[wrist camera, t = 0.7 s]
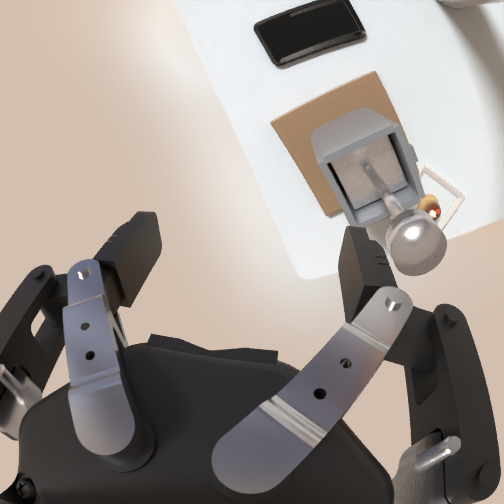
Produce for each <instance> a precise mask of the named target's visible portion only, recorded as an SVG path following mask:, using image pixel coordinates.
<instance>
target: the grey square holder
mask: <svg viewBox="0 0 504 504" xmlns="http://www.w3.org/2000/svg"><path fill="white" fill-rule="evenodd" d="M270 123H271V125H272V126H273V128H274V129H275V131H276V133H277V134H278V136H279V137H280V139H281V140H282V142H283V144H284V145H285V147H286V148H287V150H288V152H289V153H290V155H291V156H292V158H293V160H294V161H295V163H296V165H297V166H298V168H299V170H300V171H301V173H302V175H303V176H304V178H305V180H306V181H307V183H308V185H309V186H310V188H311V190H312V192H313V193H314V195H315V197H316V199H317V200H318V202H319V204H320V206H321V208H322V209H323V211H324V213H325V215H326V216H327V215H329V214H331V213H333V212H336V211H338V210H340V209H342V210H343V212H344V214H345V216H346V218H347V220H348V222H349V224H350V226H355V227H364V228H365V227H367V226H370V225H372V224H374V223H376V222H378V221H381V220H383V219H385V218H387V217H389V216H391V213H390V211H389V210H388V208H387V206H386V205H385V203H384V201H383V200H382V198H380V199H378V200H375V201H373V202H371V203H369V204H367V205H365V206H362V207H360V208H358V209H356V210H354V207H353V205H352V203H351V201H350V199H349V197H348V195H347V193H346V191H345V189H344V187H343V185H342V183H341V181H340V179H339V177H338V175H337V173H336V172H335V170H334V168H333V166H332V164H331V161H333V160H335V159H337V158H340V157H342V156H344V155H346V154H348V153H350V152H352V151H354V150H356V149H358V148H360V147H363V146H365V145H367V144H369V143H371V142H373V141H375V140H378V139H380V138H382V137H384V136H386V135H388V137H389V140H390V142H391V144H392V147H393V149H394V152H395V154H396V157H397V159H398V162H399V164H400V167H401V169H402V172H403V175H404V178H405V180H406V183H407V186H406V187H403V188H401V189H399V190H397V191H395V192H393V193H392V194H393V195H394V196H395V198H396V199H397V201H398V202H399V204H400V205H401V207H402V208H403V210H404V209H407V208H409V207H411V206H413V205H415V204H417V203H420V199H421V198H423V197H425V194H424V191H423V187H422V184H421V181H420V178H419V175H418V173H419V171H418V168H417V165H416V162H417V161H418V159H417V156H416V153H415V151H414V148H413V146H412V145H411V144H409V143H408V140H407V138H406V135H405V133H404V130H403V128H402V126H401V123H400V121H399V119H398V116H397V114H396V112H395V110H394V107H393V105H392V103H391V101H390V99H389V97H388V95H387V93H386V91H385V89H384V87H383V85H382V83H381V81H380V79H379V77H378V75H377V73H376V71H372V72H369V73H367V74H365V75H362V76H360V77H358V78H356V79H353V80H351V81H349V82H347V83H345V84H342V85H340V86H338V87H336V88H334V89H332V90H330V91H328V92H326V93H324V94H322V95H320V96H318V97H316V98H314V99H312V100H310V101H308V102H306V103H304V104H302V105H300V106H298V107H296V108H294V109H292V110H291V111H289V112H287V113H285V114H283V115H281V116H279V117H278V118H276V119H274V120H272V121H271V122H270Z"/></svg>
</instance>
